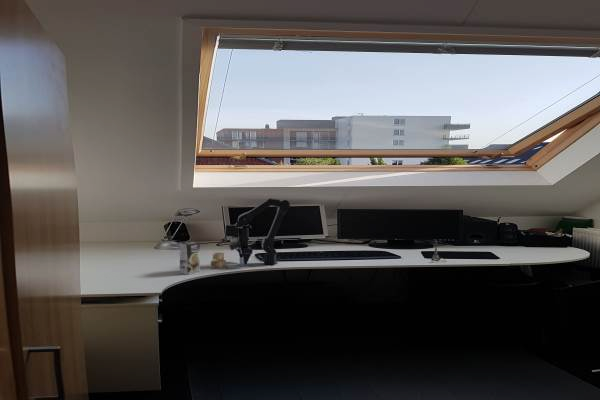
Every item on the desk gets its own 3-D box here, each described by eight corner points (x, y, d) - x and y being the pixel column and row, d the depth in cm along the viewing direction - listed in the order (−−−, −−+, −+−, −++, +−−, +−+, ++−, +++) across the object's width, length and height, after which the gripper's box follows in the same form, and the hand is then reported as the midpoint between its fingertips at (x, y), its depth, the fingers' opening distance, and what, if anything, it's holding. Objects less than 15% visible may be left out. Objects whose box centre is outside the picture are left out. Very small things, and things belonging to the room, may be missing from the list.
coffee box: (188, 274, 230) (188, 244, 229) (179, 273, 233) (179, 243, 232) (200, 271, 238) (200, 241, 237) (191, 269, 241) (191, 240, 240)
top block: (223, 259, 250) (223, 252, 249) (221, 261, 245) (221, 254, 244) (215, 259, 250) (215, 252, 250) (212, 261, 245) (212, 254, 245)
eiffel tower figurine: (430, 263, 263) (430, 241, 261) (420, 260, 272) (421, 239, 271) (451, 262, 267) (452, 240, 266) (441, 258, 277) (441, 237, 276)
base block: (225, 267, 249) (225, 260, 249) (219, 269, 244) (219, 262, 243) (217, 265, 252) (217, 259, 251) (210, 268, 246) (210, 261, 246)
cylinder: (248, 264, 255) (248, 257, 254) (244, 266, 251) (244, 259, 250) (242, 263, 257) (242, 257, 256) (238, 265, 253) (238, 258, 252)
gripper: (226, 234, 258) (226, 260, 259) (233, 239, 241) (233, 267, 242) (244, 233, 262) (244, 259, 263) (252, 238, 245) (252, 266, 246)
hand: (243, 262), depth 254 cm, fingers open, 9 cm apart
